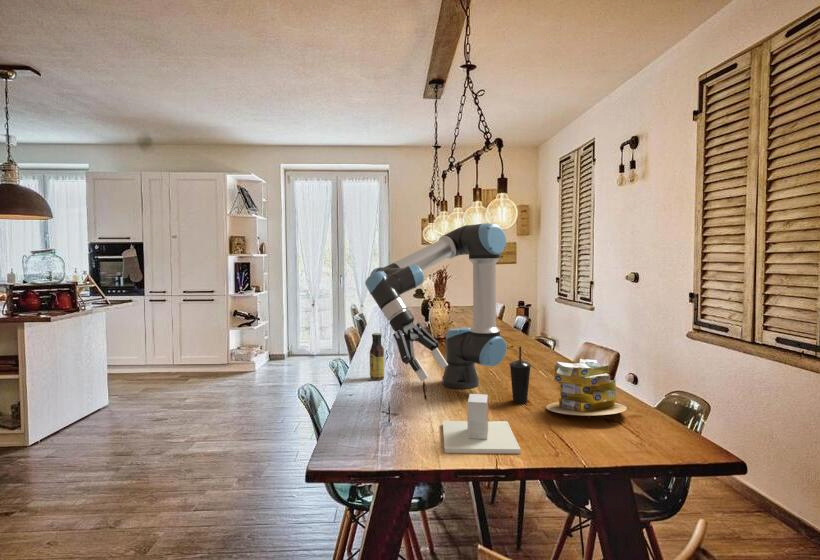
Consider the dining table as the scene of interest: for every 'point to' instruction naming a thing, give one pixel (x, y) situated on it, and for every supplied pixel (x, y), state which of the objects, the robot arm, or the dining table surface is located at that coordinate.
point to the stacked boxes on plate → (585, 390)
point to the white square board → (496, 441)
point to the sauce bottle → (376, 358)
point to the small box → (477, 416)
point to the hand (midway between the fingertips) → (435, 373)
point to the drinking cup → (520, 379)
